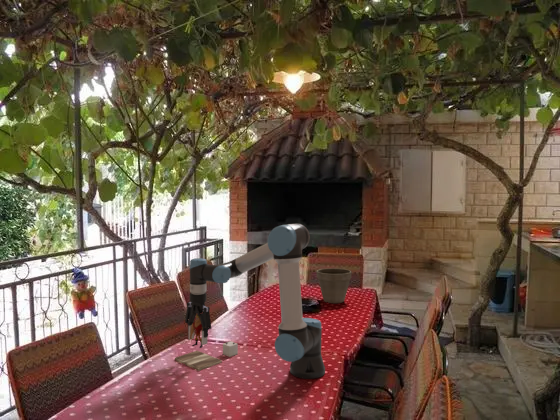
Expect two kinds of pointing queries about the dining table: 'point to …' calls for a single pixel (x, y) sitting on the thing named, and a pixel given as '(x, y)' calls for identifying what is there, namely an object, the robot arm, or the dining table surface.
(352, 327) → the dining table surface
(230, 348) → the die
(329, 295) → the plant pot
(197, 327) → the action figure
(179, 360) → the board
